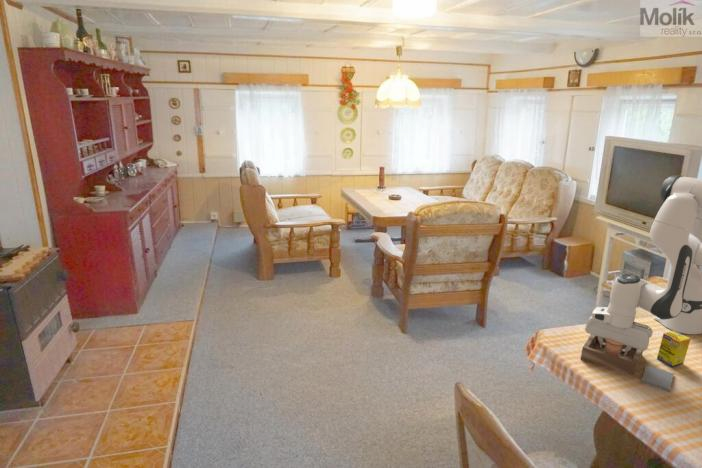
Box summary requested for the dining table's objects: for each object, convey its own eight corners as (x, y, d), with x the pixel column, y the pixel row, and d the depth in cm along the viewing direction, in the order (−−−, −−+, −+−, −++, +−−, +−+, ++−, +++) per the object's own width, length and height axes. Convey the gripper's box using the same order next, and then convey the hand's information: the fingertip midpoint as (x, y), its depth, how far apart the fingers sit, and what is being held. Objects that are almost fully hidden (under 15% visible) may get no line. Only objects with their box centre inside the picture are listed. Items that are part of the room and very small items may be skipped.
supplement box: (656, 358, 167) (663, 332, 164) (667, 355, 169) (674, 329, 166) (672, 367, 162) (679, 341, 159) (683, 364, 164) (691, 338, 161)
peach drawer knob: (604, 350, 172) (608, 332, 170) (622, 356, 168) (626, 338, 166) (600, 357, 168) (604, 339, 165) (618, 364, 164) (623, 345, 161)
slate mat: (646, 367, 162) (647, 364, 162) (673, 375, 158) (673, 373, 157) (640, 381, 155) (641, 379, 154) (668, 391, 150) (669, 389, 149)
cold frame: (592, 339, 179) (595, 324, 177) (641, 355, 169) (645, 339, 167) (580, 359, 167) (583, 342, 165) (633, 377, 157) (637, 360, 154)
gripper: (655, 323, 159) (646, 357, 163) (591, 306, 171) (585, 337, 176) (652, 331, 154) (643, 365, 159) (587, 312, 167) (581, 344, 171)
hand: (612, 350), depth 167 cm, fingers closed on peach drawer knob, 6 cm apart
